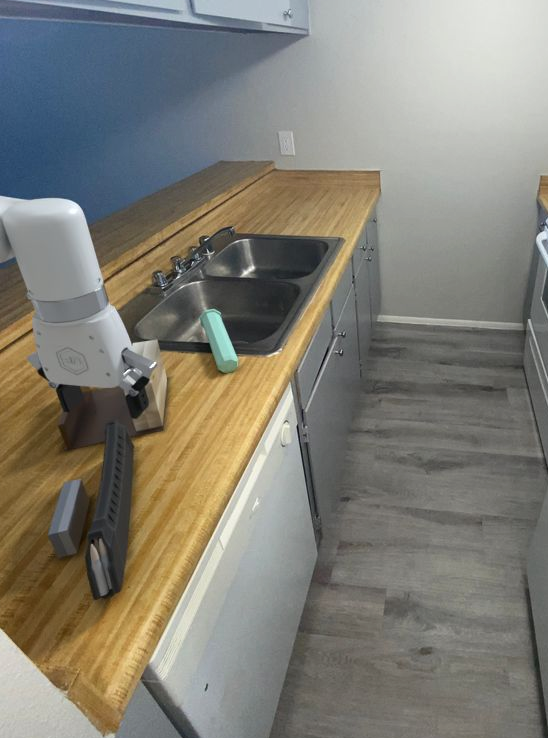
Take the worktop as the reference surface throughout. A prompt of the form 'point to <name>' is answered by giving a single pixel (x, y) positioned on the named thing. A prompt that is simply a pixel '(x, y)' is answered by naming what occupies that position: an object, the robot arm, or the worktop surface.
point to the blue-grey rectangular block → (69, 518)
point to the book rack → (117, 407)
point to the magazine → (111, 515)
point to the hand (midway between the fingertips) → (107, 409)
